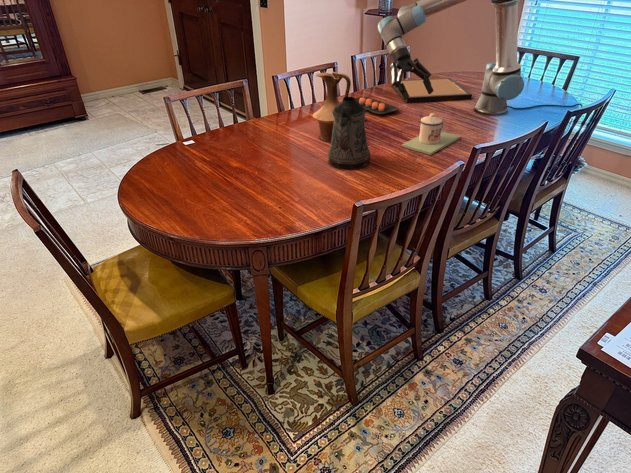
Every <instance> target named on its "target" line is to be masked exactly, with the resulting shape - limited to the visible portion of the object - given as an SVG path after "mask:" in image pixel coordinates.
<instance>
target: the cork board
mask: <svg viewBox="0 0 631 473" xmlns="http://www.w3.org/2000/svg"><path fill="white" fill-rule="evenodd" d="M429 80H430V82H431V86H432V88H433V90H434V91H433V92H432V93H431V94H428V92H427V90H426V88H425V85H424V83H423V81H424V80H423V79H421V78H420V79H402V81H401V83H403V84H404V86H405V88H406V90H407V92H408V94H409V97H408V98H407V99H406V100H404V98H403V96H402V94H401V93H400V92H399V89H398V87H397V88H396V87H395V85H394V86H392V85H391V86H392V88H393V89H394V90H395V91H396V92H397V94H398V95H399V96H400V97H401V98H402V100H404V102H405V103H406V104H416V103H434V102H435V103H437V102H449V101H450V102H453V101H471V100H472V99H473V94H472V93H471V92H470V91H469V90H467V89H465V88H464V87H463V86H462V85H460V84H459V83H457V82H456V81H454V80H453V79H452V78H451V77H441V78H429Z"/></svg>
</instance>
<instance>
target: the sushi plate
mask: <svg viewBox="0 0 631 473" xmlns="http://www.w3.org/2000/svg"><path fill="white" fill-rule="evenodd" d="M354 98H355V100H356V101H357V102H358V103H359V104H360V105H362V106H363V107H364V109H365V110H366V112H369V113H372V114H375V115H378V116H383V115H389V114H391V113H395V112H398V111H399V110H400V108H399V107H397V106H396V105H392V104H390V103H386V102H384V101H380V100H377V99H375V98H372V97H369V96H359V97H354ZM364 122H367V119H366V117H364Z"/></svg>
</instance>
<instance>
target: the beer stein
mask: <svg viewBox="0 0 631 473" xmlns="http://www.w3.org/2000/svg"><path fill="white" fill-rule="evenodd" d="M355 98H356V97H353V96H348V97H343V98H342V100H341V102H339V104H338V105H337V106H336V107H335V108H334V109H333V111H332V114H333V117H334V124H333V131H332V140H331V141H330V146H329V150H328V152H327V157H328V163H329V164H330V165H331V166H332V167H334V168H336V169H339V170H340V169H341V170H346V171H347V170H349V171H350V170H357V169H361V168H365V167H366V166H367V165H368V164H369V161H370V157H371V151H370V149H369V146H368V141H367V140H368V139H367V134H366V132H367V131H366V126H365V120H364V118H365V115H366V112H367V110H365V109H364V107H363V106H362V105H360V104H359V103H358V102H357V101H356V100H355Z"/></svg>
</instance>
